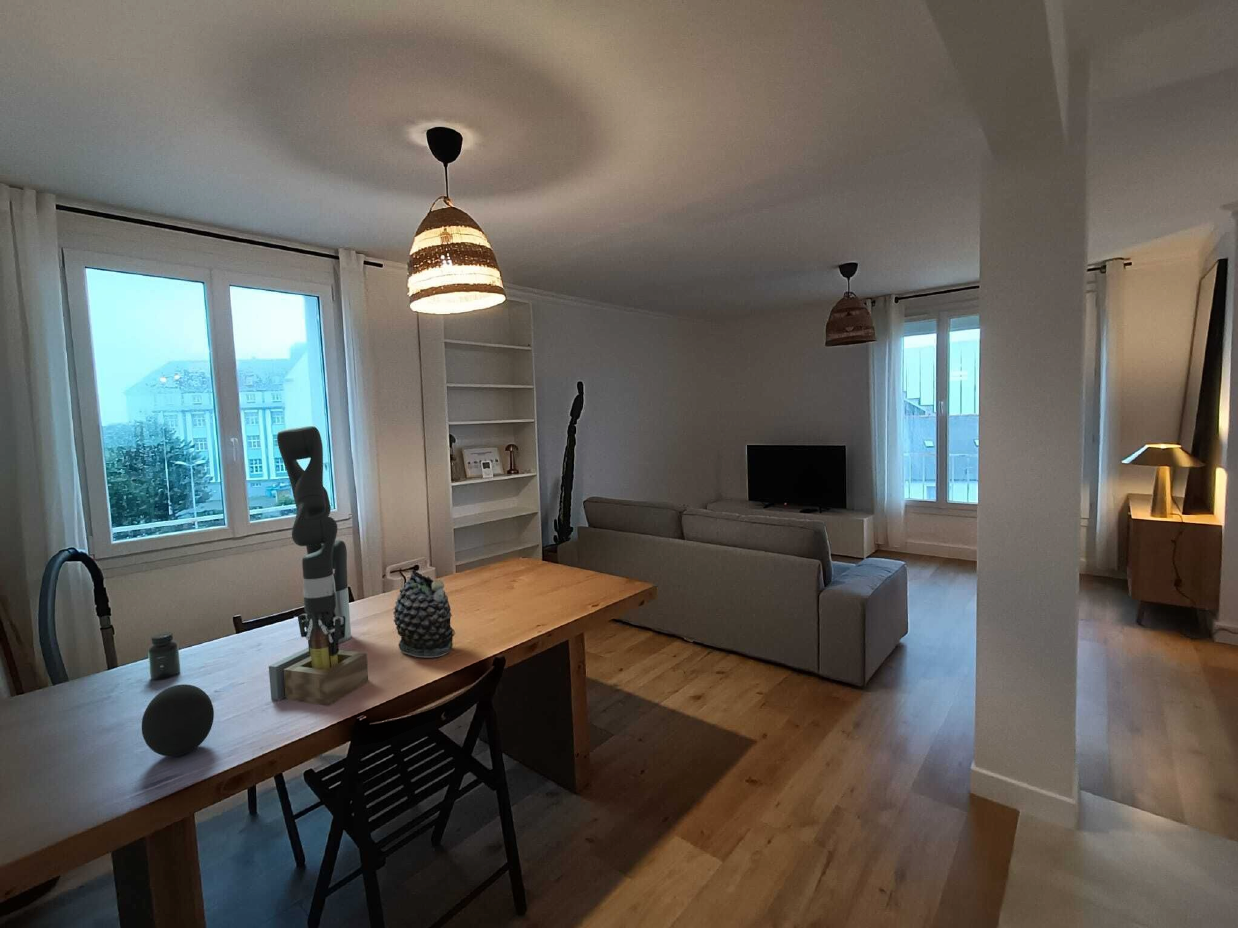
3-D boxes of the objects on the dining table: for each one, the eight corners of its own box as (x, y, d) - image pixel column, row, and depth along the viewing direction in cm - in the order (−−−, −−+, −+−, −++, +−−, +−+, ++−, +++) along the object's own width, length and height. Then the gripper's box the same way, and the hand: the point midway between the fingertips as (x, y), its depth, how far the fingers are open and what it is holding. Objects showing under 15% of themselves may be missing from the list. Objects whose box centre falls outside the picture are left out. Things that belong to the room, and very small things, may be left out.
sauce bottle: (333, 673, 156) (328, 603, 154) (343, 679, 152) (338, 607, 150) (308, 682, 151) (302, 610, 149) (318, 689, 147) (312, 614, 145)
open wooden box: (285, 699, 146) (283, 669, 146) (328, 675, 160) (326, 648, 159) (328, 705, 142) (326, 674, 142) (368, 680, 156) (366, 652, 155)
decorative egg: (223, 750, 124) (217, 684, 123) (151, 777, 114) (144, 706, 113) (208, 731, 132) (203, 669, 131) (140, 755, 123) (133, 688, 122)
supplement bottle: (145, 682, 160) (141, 641, 159) (158, 672, 166) (154, 632, 165) (173, 678, 162) (169, 637, 161) (185, 668, 168) (181, 629, 167)
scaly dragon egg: (467, 647, 177) (463, 569, 175) (429, 666, 164) (424, 582, 162) (422, 636, 188) (418, 563, 186) (383, 653, 175) (378, 574, 173)
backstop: (271, 699, 147) (268, 665, 146) (320, 672, 162) (318, 642, 161) (278, 700, 146) (275, 666, 145) (327, 673, 161) (324, 643, 160)
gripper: (286, 594, 148) (291, 656, 149) (330, 598, 144) (334, 661, 145) (309, 586, 155) (314, 645, 156) (352, 589, 151) (356, 650, 152)
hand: (324, 653), depth 151 cm, fingers closed on sauce bottle, 6 cm apart
